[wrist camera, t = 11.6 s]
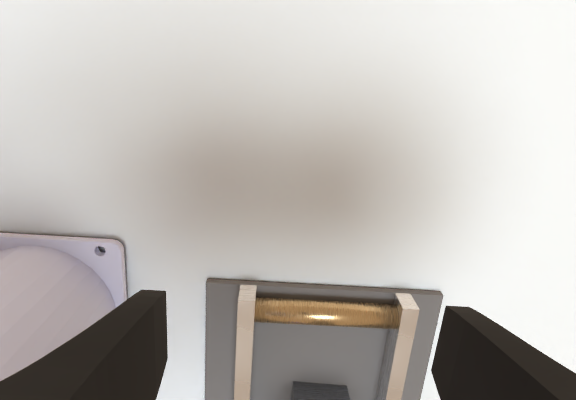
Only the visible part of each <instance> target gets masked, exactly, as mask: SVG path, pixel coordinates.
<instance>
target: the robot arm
mask: <svg viewBox="0 0 576 400" xmlns="http://www.w3.org/2000/svg"><path fill="white" fill-rule="evenodd" d="M98 246H101V247H103V248H104V249H105V251H106V252H105V253H103V252H101V251H99V249H98ZM166 362H167V316H166V291H154V290H141V291H139V292H137V293H136V294H134V295H133V296H132V297H130V298H129V299H127V291H126V274H125V257H124V247H123V245H122V244H121V242H119V241H118V240H114V239H101V238H84V237H67V236H50V235H32V234H15V233H0V400H156V397H157V394H158V391H159V387H160V384H161V380H162V377H163V373H164V369H165V366H166ZM431 371H432V374H433V378H434V381H435V384H436V387H437V390H438V393H439V396H440V399H441V400H576V373H574V372H572V371H571V370H569V369H567V368H566V367H564V366H563V365H561V364H559V363H558V362H556V361H554V360H553V359H551V358H550V357H548V356H547V355H545V354H543V353H542V352H540V351H539V350H537V349H536V348H534V347H532V346H531V345H529V344H528V343H526V342H525V341H523V340H522V339H520V338H519V337H517V336H515V335H514V334H512V333H511V332H509V331H508V330H506V329H505V328H503V327H502V326H500V325H499V324H497V323H495V322H494V321H492V320H491V319H489V318H487V317H486V316H484V315H482V314H481V313H479V312H477V311H476V310H474V309H472V308H470V307H458V306H446V308H445V312H444V316H443V321H442V325H441V330H440V334H439V338H438V343H437V347H436V352H435V356H434V361H433V365H432V369H431Z"/></svg>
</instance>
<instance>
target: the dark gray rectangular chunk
mask: <svg viewBox="0 0 576 400" xmlns="http://www.w3.org/2000/svg"><path fill="white" fill-rule="evenodd" d="M290 400H350V397H349V393H348V388H347V386H346V385H334V384H323V383H311V382H300V381H293V384H292V391H291V397H290Z"/></svg>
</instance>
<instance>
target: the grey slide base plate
mask: <svg viewBox="0 0 576 400" xmlns="http://www.w3.org/2000/svg"><path fill="white" fill-rule="evenodd" d="M240 285H257V289H256V297H265V298H284V299H303V300H322V301H341V302H360V303H379V304H393V301H394V295H395V293H407V294H411V296H412V297H413V299H414V301H415V302H416V304H417V306H418V308H419V309H420V310H419V315H418V320H417V325H416V330H415V334H414V339H413V344H412V349H411V354H410V359H409V364H408V369H407V374H406V379H405V383H404V388H403V393H402V398H401V400H420V398H421V393H422V389H423V384H424V380H425V375H426V371H427V366H428V362H429V357H430V353H431V348H432V344H433V339H434V335H435V330H436V326H437V321H438V317H439V312H440V308H441V303H442V299H443V294H442V293H441V292H440V291H426V290H408V289H389V288H371V287H352V286H334V285H315V284H297V283H279V282H260V281H242V280H223V279H207V282H206V353H205V400H234V385H235V360H236V336H237V311H238V297H239V291H240ZM387 334H388V329H380V328H359V327H339V326H319V325H299V324H279V323H259V322H255V325H254V342H253V360H252V378H251V396H250V400H290V397H291V391H292V384H293V381H300V382H311V383H323V384H334V385H346V386H347V388H348V393H349V397H350V400H376V396H377V390H378V384H379V379H380V373H381V368H382V362H383V356H384V351H385V345H386V340H387Z"/></svg>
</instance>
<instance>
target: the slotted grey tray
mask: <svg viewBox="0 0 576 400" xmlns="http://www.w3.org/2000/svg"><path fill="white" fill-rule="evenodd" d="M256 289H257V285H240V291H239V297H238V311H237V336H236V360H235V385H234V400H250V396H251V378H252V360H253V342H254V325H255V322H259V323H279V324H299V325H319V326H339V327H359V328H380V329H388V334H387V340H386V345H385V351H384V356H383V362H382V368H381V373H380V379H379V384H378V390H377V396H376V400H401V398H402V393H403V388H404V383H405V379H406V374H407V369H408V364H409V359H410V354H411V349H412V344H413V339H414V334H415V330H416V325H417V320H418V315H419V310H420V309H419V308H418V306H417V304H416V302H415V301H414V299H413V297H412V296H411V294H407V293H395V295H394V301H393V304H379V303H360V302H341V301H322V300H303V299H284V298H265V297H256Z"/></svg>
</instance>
